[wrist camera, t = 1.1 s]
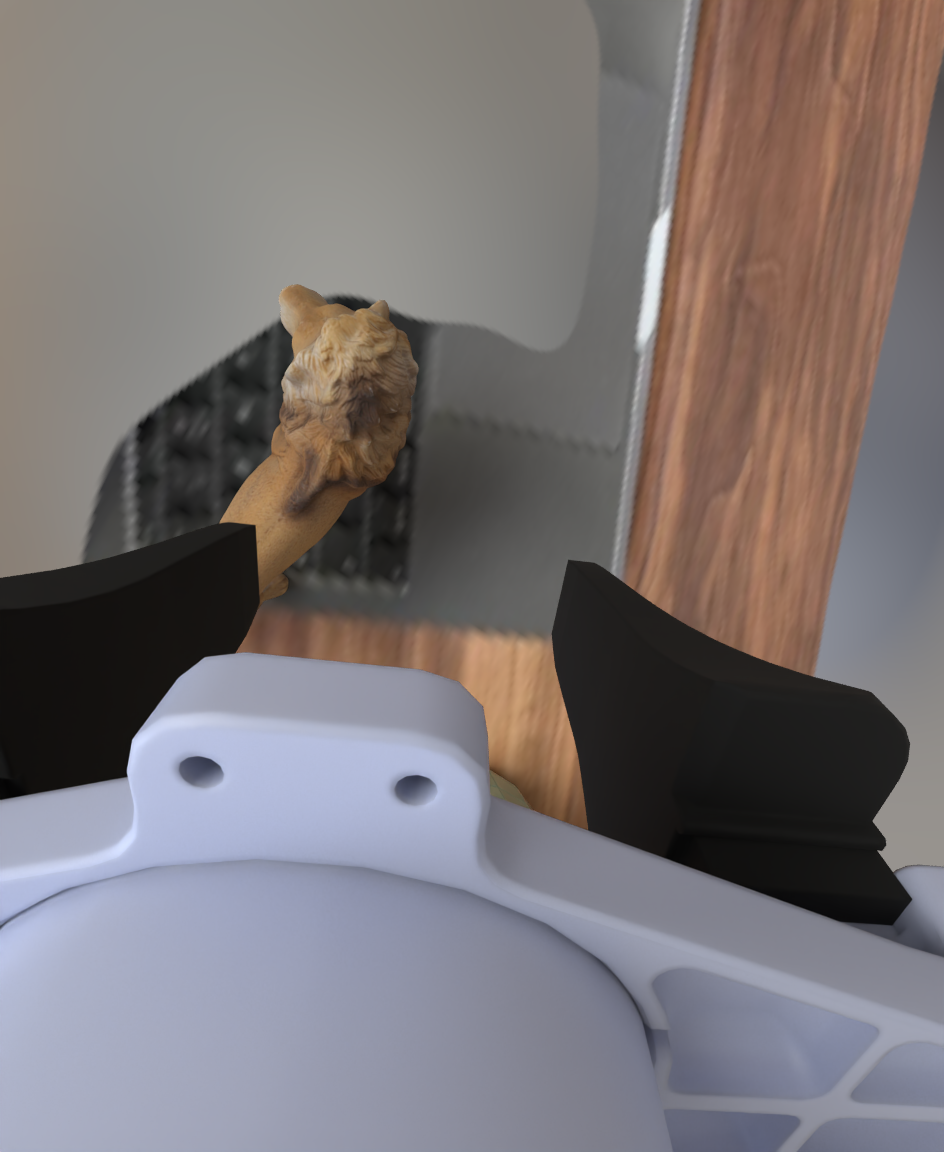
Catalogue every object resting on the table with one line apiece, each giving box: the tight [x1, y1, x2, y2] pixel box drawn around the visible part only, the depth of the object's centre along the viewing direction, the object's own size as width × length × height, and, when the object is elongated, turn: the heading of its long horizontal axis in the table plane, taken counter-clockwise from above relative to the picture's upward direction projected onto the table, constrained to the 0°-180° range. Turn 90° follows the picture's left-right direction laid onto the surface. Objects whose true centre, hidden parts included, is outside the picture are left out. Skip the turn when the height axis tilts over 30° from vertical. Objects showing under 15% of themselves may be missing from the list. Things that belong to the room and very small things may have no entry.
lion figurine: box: [220, 285, 419, 610], centre depth 19 cm, size 15×5×9 cm, turn 148°
